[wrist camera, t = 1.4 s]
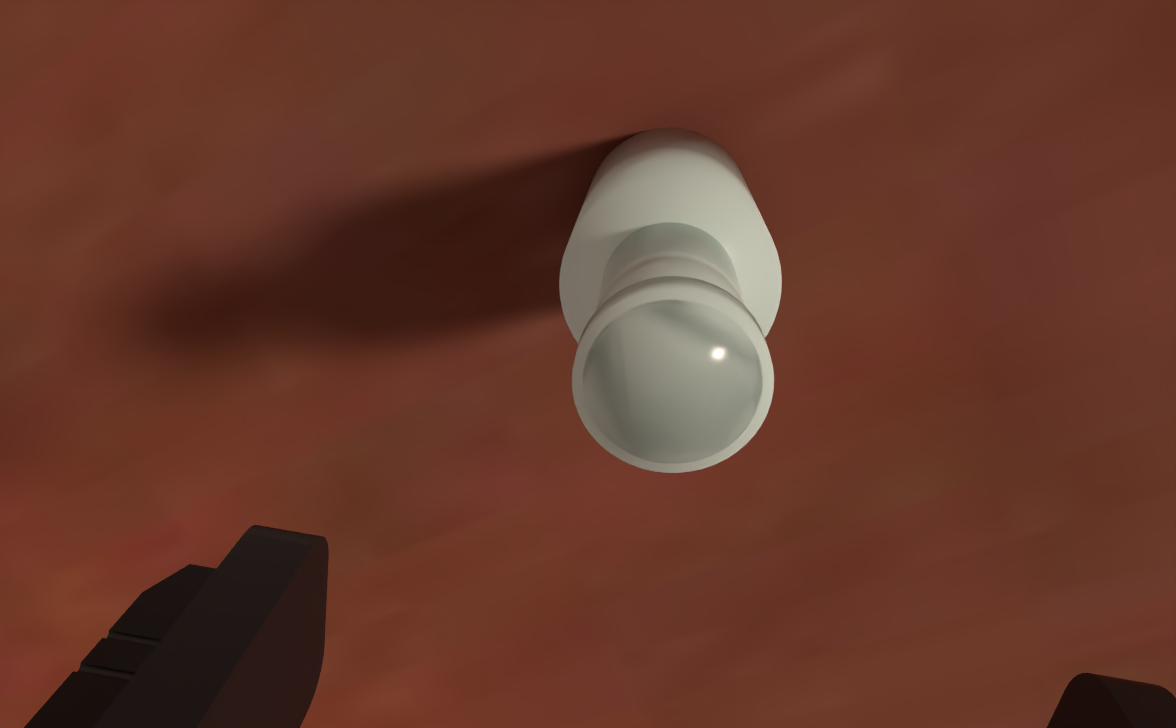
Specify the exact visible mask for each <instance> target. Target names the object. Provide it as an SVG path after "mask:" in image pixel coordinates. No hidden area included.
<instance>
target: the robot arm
mask: <svg viewBox="0 0 1176 728" xmlns="http://www.w3.org/2000/svg"><path fill="white" fill-rule="evenodd" d="M327 577H328V543H327V540H326V538H325V537H322V536H316V535H311V534H305V533H299V532H294V531H288V530H282V529H276V528H271V527H265V526H259V525H254V526H252V527H250V528H249V529H248V530H247V531H246V532H245V533H244V534H243V536H242V537H241V538H240V540H239V541H238V542H237V543H236V545H235V546H234V547H233V549H232V550H231V551H230V552H229V554H228V555H227V556H226V558H225V559H224V560H223V561H222V563H221V564H220V565H219V566H218V568H217V569H215V568H209V567H203V566H198V565H192V564H189V565H188V566H186V567H184V568H183V569H181V570H179V571H178V572H176V573H174V574H173V575H171V576H169V577H168V578H166V579H164V580H162V581H161V582H159V583H157V584H156V585H154V586H152V587H151V588H149V589H147V590H146V591H144V592H142V593H141V595H140V596H139V597H138V598H137V599H136V600H135V601H134V603H133V604H132V605H131V606H130V607H129V608H128V609H127V611H126V612H125V613H124V614H123V615H122V616H121V617H120V619H119V620H118V621H117V622H116V623H115V624H114V625H113V627H112V628H111V629H110V630H109V634H108V637H107V638H106V639H105V638H102V639H101V640H100V641H99V643H98V644H97V645H96V646H95V647H94V648H93V649H92V651H91V652H90V653H89V654H88V655H87V656H86V657H85V658H84V660H83V661H82V662H81V665H80V668H79V670H78V672H74V671H73V672H72V673H71V674H70V676H69V677H68V678H67V679H66V680H65V681H64V682H63V684H62V685H61V686H60V687H59V688H58V689H57V690H56V692H55V693H54V694H53V695H52V696H51V697H50V698H49V700H48V701H47V702H46V703H45V704H44V705H43V706H42V708H41V709H40V710H39V711H38V712H37V713H36V714H35V716H34V717H33V718H32V719H31V720H30V721H29V722H28V724H27V725H26V726H25V727H24V728H300V726H301V724H302V722H303V720H304V718H305V716H306V713H307V711H308V709H309V707H310V704H311V702H312V699H313V696H314V693H315V690H316V687H317V684H318V680H319V676H320V672H321V667H322V662H323V655H324V642H325V620H326V599H327ZM1047 728H1176V698H1175V697H1174V696H1173V694H1172V693H1170V692H1169V691H1168V690H1167V689H1165V688H1163V687H1161V686H1158V685H1154V684H1148V683H1143V682H1137V681H1131V680H1126V679H1120V678H1114V677H1108V676H1103V675H1097V674H1091V673H1082V674H1079V675H1077V676H1076V677H1074V678H1073V679H1072V680H1071V681H1070V683H1069V684H1068V686H1067V687H1066V689H1065V691H1064V693H1063V695H1062V697H1061V699H1060V702H1059V704H1058V706H1057V708H1056V710H1055V712H1054V714H1053V716H1052V718H1051V720H1050V722H1049V724H1048V726H1047Z"/></svg>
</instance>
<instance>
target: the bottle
mask: <svg viewBox="0 0 1176 728" xmlns="http://www.w3.org/2000/svg"><path fill="white" fill-rule="evenodd" d="M781 285H782V277H781V267H780V262H779V258H778V253H777V250H776V248H775V245H774V243H773V240H772V238H771V235H770V233H769V231H768V229H767V227H766V225H765V223H764V221H763V219H762V216H761V214H760V212H759V210H758V208H757V206H756V204H755V202H754V199H753V197H752V195H751V193H750V191H749V189H748V187H747V185H746V182H745V180H744V178H743V176H742V174H741V172H740V170H739V168H738V167H737V165H736V163H735V162H734V160H733V159H732V158H731V156H730V155H729V154H728V153H727V152H726V151H725V150H724V149H723V148H722V147H721V146H719V145H718V144H717V143H715V142H714V141H713V140H711V139H709V138H707V137H706V136H704V135H701V134H699V133H696V132H694V131H690V130H686V129H680V128H658V129H652V130H648V131H645V132H642V133H639V134H637V135H634V136H632V137H630V138H628V139H627V140H625V141H624V142H622V143H621V144H619V145H618V146H617V147H616V148H615V149H613V150H612V151H611V152H610V153H609V154H608V156H607V157H606V158H605V159H604V160H603V162H602V163H601V165H600V166H599V168H598V170H597V171H596V173H595V175H594V177H593V180H592V183H591V185H590V188H589V190H588V193H587V195H586V198H585V201H584V203H583V206H582V208H581V211H580V213H579V216H578V219H577V221H576V224H575V226H574V229H573V231H572V234H571V237H570V239H569V242H568V244H567V247H566V250H565V253H564V255H563V259H562V264H561V268H560V279H559V289H560V300H561V305H562V310H563V313H564V316H565V319H566V322H567V325H568V327H569V329H570V331H571V333H572V335H573V336H574V338H575V339H576V341H577V342H578V349H577V353H576V357H575V361H574V365H573V373H572V391H573V396H574V401H575V405H576V408H577V411H578V414H579V416H580V418H581V420H582V422H583V424H584V425H585V427H586V428H587V430H588V431H589V433H590V434H591V435H592V437H593V438H594V439H595V440H596V441H597V442H598V443H599V444H600V445H601V446H602V447H603V448H605V449H606V450H607V451H608V452H609V453H611V454H613V455H614V456H616V457H617V458H619V459H621V460H623V461H625V462H627V463H629V464H631V465H634V466H636V467H639V468H642V469H646V470H651V471H656V472H665V473H680V472H689V471H695V470H699V469H703V468H706V467H709V466H712V465H715V464H717V463H719V462H721V461H723V460H725V459H727V458H728V457H730V456H731V455H733V454H734V453H736V452H737V451H739V450H740V449H741V448H742V447H743V446H744V445H746V444H747V443H748V442H749V440H750V439H751V438H752V437H753V436H754V435H755V434H756V432H757V431H758V429H759V428H760V426H761V425H762V423H763V421H764V419H765V417H766V415H767V413H768V410H769V407H770V404H771V401H772V395H773V390H774V373H773V365H772V361H771V357H770V353H769V350H768V347H767V344H766V340H765V337H766V336H767V334H768V332H769V330H770V328H771V326H772V324H773V322H774V320H775V317H776V314H777V311H778V307H779V302H780V297H781Z"/></svg>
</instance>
